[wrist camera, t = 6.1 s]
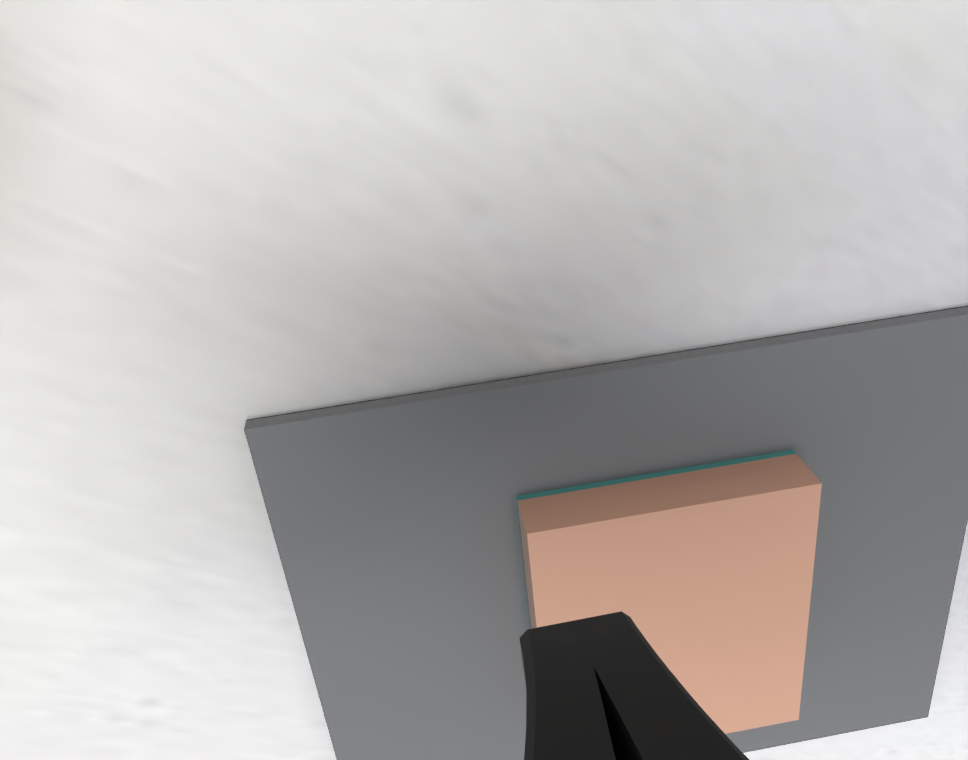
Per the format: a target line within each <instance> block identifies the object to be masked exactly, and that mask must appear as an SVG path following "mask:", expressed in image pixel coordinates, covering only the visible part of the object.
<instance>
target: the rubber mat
mask: <svg viewBox="0 0 968 760" xmlns="http://www.w3.org/2000/svg"><path fill="white" fill-rule="evenodd" d="M244 431H245V434H246V438H247V441H248V445H249V448H250V452H251V455H252V459H253V463H254V466H255V470H256V473H257V477H258V480H259V484H260V488H261V491H262V495H263V498H264V502H265V505H266V509H267V512H268V516H269V520H270V523H271V527H272V530H273V534H274V537H275V541H276V545H277V548H278V552H279V555H280V559H281V562H282V566H283V569H284V573H285V577H286V580H287V584H288V587H289V591H290V594H291V598H292V602H293V605H294V609H295V612H296V616H297V619H298V623H299V626H300V630H301V634H302V637H303V641H304V644H305V648H306V651H307V655H308V659H309V662H310V666H311V669H312V673H313V676H314V680H315V683H316V687H317V691H318V694H319V698H320V701H321V705H322V708H323V712H324V716H325V719H326V723H327V726H328V730H329V733H330V737H331V740H332V744H333V748H334V751H335V755H336V758H337V760H524V753H525V738H526V682H525V675H524V668H523V661H522V653H521V646H520V639H519V638H520V637H521V636H522V635H523V634H524V633H525V632H526V630H527V629H530V620H529V611H528V602H527V593H526V584H525V574H524V565H523V556H522V547H521V538H520V529H519V519H518V510H517V501H516V496H519V495H525V494H531V493H537V492H542V491H548V490H554V489H560V488H566V487H572V486H578V485H584V484H590V483H596V482H602V481H608V480H614V479H620V478H626V477H632V476H638V475H643V474H649V473H655V472H661V471H667V470H673V469H679V468H685V467H691V466H697V465H703V464H709V463H715V462H721V461H727V460H733V459H739V458H745V457H750V456H756V455H762V454H768V453H774V452H780V451H786V450H792V449H793V450H794V451H795V453H796V454H797V455H798V456H799V457H800V458H801V460H802V461H803V462H804V463H805V464H806V465H807V467H808V468H809V469H810V470H811V471H812V472H813V473H814V475H815V476H816V477H817V478H818V479H819V480H820V482H821V483H822V488H821V498H820V508H819V518H818V528H817V539H816V549H815V559H814V569H813V579H812V590H811V600H810V610H809V620H808V630H807V640H806V651H805V661H804V671H803V681H802V691H801V702H800V712H799V720H795V721H790V722H785V723H780V724H774V725H769V726H764V727H759V728H753V729H748V730H743V731H738V732H732V733H727V734H726V735H727V737H728V738H729V739H730V740H731V741H732V742H733V743H734V744H735V745H736V746H737V747H738V749H739V750H740V751H741V752H742V753H744V752H749V751H754V750H760V749H765V748H770V747H775V746H780V745H786V744H791V743H796V742H801V741H806V740H811V739H817V738H822V737H827V736H832V735H837V734H843V733H848V732H853V731H858V730H863V729H868V728H874V727H879V726H884V725H889V724H894V723H900V722H905V721H910V720H915V719H920V718H925V717H928V714H929V709H930V704H931V699H932V694H933V689H934V684H935V679H936V674H937V669H938V664H939V659H940V654H941V649H942V644H943V639H944V634H945V629H946V624H947V619H948V614H949V609H950V604H951V600H952V595H953V590H954V585H955V580H956V575H957V570H958V565H959V560H960V555H961V550H962V545H963V540H964V535H965V530H966V525H967V520H968V306H966V307H960V308H954V309H947V310H941V311H935V312H929V313H922V314H916V315H910V316H903V317H897V318H891V319H884V320H878V321H872V322H865V323H859V324H853V325H847V326H840V327H834V328H828V329H821V330H815V331H809V332H802V333H796V334H790V335H783V336H777V337H771V338H765V339H758V340H752V341H746V342H739V343H733V344H727V345H720V346H714V347H708V348H701V349H695V350H689V351H683V352H676V353H670V354H664V355H657V356H651V357H645V358H638V359H632V360H626V361H620V362H613V363H607V364H601V365H594V366H588V367H582V368H575V369H569V370H563V371H556V372H550V373H544V374H538V375H531V376H525V377H519V378H512V379H506V380H500V381H493V382H487V383H481V384H474V385H468V386H462V387H456V388H449V389H443V390H437V391H430V392H424V393H418V394H411V395H405V396H399V397H393V398H386V399H380V400H374V401H367V402H361V403H355V404H348V405H342V406H336V407H329V408H323V409H317V410H311V411H304V412H298V413H292V414H285V415H279V416H273V417H266V418H260V419H254V420H247V421H246V424H245V429H244Z"/></svg>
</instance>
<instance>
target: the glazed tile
mask: <svg viewBox="0 0 968 760" xmlns="http://www.w3.org/2000/svg"><path fill="white" fill-rule="evenodd" d="M821 488H822V483H821V482H820V480H819V479H818V478H817V477H816V476H815V475H814V473H813V472H812V471H811V470H810V469H809V468H808V467H807V465H806V464H805V463H804V462H803V461H802V460H801V458H800V457H799V456H798V455H797V454H796V453H795V451H794V450H793V449H792V450H786V451H780V452H774V453H768V454H762V455H756V456H750V457H745V458H739V459H733V460H727V461H721V462H715V463H709V464H703V465H697V466H691V467H685V468H679V469H673V470H667V471H661V472H655V473H649V474H643V475H638V476H632V477H626V478H620V479H614V480H608V481H602V482H596V483H590V484H584V485H578V486H572V487H566V488H560V489H554V490H548V491H542V492H537V493H531V494H525V495H519V496H516V501H517V510H518V519H519V529H520V538H521V547H522V556H523V565H524V574H525V584H526V593H527V602H528V611H529V620H530V629H532V628H538V627H543V626H548V625H553V624H558V623H564V622H569V621H574V620H579V619H584V618H589V617H595V616H600V615H605V614H610V613H615V612H620V611H622V612H623V613H625V614H627V615H628V616H630V617H631V619H632V620H633V622H634V623H635V625H636V626H637V628H638V629H639V630H640V632H641V633H642V635H643V636H644V637H645V639H646V640H647V641H648V643H649V644H650V645H651V647H652V648H653V649H654V651H655V652H656V653H657V655H658V656H659V657H660V658H661V660H662V661H663V662H664V663H665V665H666V666H667V667H668V669H669V670H670V671H671V672H672V673H673V675H674V676H675V677H676V678H677V679H678V681H679V682H680V683H681V684H682V686H683V687H684V688H685V689H686V690H687V692H688V693H689V694H690V695H691V696H692V697H693V699H694V700H695V701H696V702H697V703H698V704H699V706H700V707H701V708H702V709H703V710H704V711H705V712H706V713H707V715H708V716H709V717H710V718H711V719H712V720H713V721H714V722H715V723H716V724H717V726H718V727H719V728H720V729H721V730H722V731H723V732H724V733H725V734H727V733H732V732H738V731H743V730H748V729H753V728H759V727H764V726H769V725H774V724H780V723H785V722H790V721H795V720H799V712H800V702H801V691H802V681H803V671H804V661H805V651H806V640H807V630H808V620H809V610H810V600H811V590H812V579H813V569H814V559H815V549H816V539H817V528H818V518H819V508H820V498H821Z"/></svg>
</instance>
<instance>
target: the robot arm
mask: <svg viewBox="0 0 968 760" xmlns="http://www.w3.org/2000/svg"><path fill="white" fill-rule="evenodd" d="M519 639H520V646H521V653H522V661H523V668H524V675H525V682H526V738H525V753H524V760H749V759H748V758H747V757H746V756H745V755H744V754H743V753H742V752H741V751H740V750H739V749H738V747H737V746H736V745H735V744H734V743H733V742H732V741H731V740H730V739H729V738H728V737H727V735H726V734H725V733H724V732H723V731H722V730H721V729H720V728H719V727H718V726H717V724H716V723H715V722H714V721H713V720H712V719H711V718H710V717H709V716H708V715H707V713H706V712H705V711H704V710H703V709H702V708H701V707H700V706H699V704H698V703H697V702H696V701H695V700H694V699H693V697H692V696H691V695H690V694H689V693H688V692H687V690H686V689H685V688H684V687H683V686H682V684H681V683H680V682H679V681H678V679H677V678H676V677H675V676H674V675H673V673H672V672H671V671H670V670H669V669H668V667H667V666H666V665H665V663H664V662H663V661H662V660H661V658H660V657H659V656H658V655H657V653H656V652H655V651H654V649H653V648H652V647H651V645H650V644H649V643H648V641H647V640H646V639H645V637H644V636H643V635H642V633H641V632H640V630H639V629H638V628H637V626H636V625H635V623H634V622H633V620H632V619H631V617H630V616H628V615H627V614H625V613H623V612H622V611H620V612H615V613H610V614H605V615H600V616H595V617H589V618H584V619H579V620H574V621H569V622H564V623H558V624H553V625H548V626H543V627H538V628H532V629H527V630H526V632H525V633H524V634H523V635H522V636H521V637H520V638H519Z"/></svg>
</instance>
